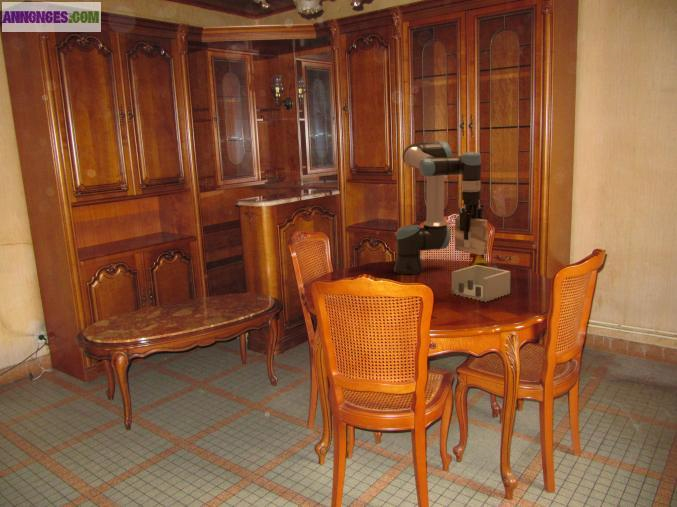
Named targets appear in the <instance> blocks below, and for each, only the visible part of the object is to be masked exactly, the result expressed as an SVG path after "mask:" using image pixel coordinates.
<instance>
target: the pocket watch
mask: <svg viewBox="0 0 677 507" xmlns="http://www.w3.org/2000/svg"><path fill="white" fill-rule="evenodd" d="M491 263H492V264H493V265H492V266H491V267H490V268H496V269H499V268H498V266H497V265H496V261H494V260H492V262H491Z"/></svg>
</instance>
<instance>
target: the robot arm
mask: <svg viewBox="0 0 677 507" xmlns="http://www.w3.org/2000/svg"><path fill="white" fill-rule="evenodd" d="M402 160H403V163H404V164H405V165H407V166H408V167H410V168H416V169H418V170H419V173H420V175H421V176H422V177H426V217H425V218H426V219H425V221H424V222H423V226H422V227H421V226H420V225H419V224H409V225H404V226H401V227H399V228H398V229H397V230H396V238H395V239H396V253H397V254H396V260H395V264H394V266H393V273H395V272H396V273H395V274H397V273H401V274H400V275H403V274H414V275H419V274H418V273H420V274H422V273H424V271H425V267H424V265H423V261H422V258H421V251H434V250H438V251H439V250H443V249H444V250H445V249H446V248H447V247H448V246H449V244H450V242H451V228H450V227H449V226H448V225H447V222H446V221H445V219H444V215H445V214H444V213H445V211H444V210H445V176H455V175H456V176H457V175H460V176H461V190H462V192H461V200H462V201H463V203H462V206H461V207H458V209H457V210H458V213H459V217H460V231H462V232H464V247H468V248H470V243H471V232H469V229H470V220H471V218H474V219H483V210H484V205H483V204H480V202H479V201H480V200H481V196H482V195H481V194H482V192H481V191H480V190H481V185H482V184H481V180H482V178H481V177H482V156H481V153H480V152H472V151H471V152H464V153H462V155H458V156H453V154H452V148H451V147H450V144H449V143H448V142H446V141H439V140H438V141H426V142H425V141H424V142H414V143H411V144H409V145H408V146H406V147H405V149H404V150H403V153H402Z"/></svg>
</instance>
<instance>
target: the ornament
mask: <svg viewBox="0 0 677 507" xmlns="http://www.w3.org/2000/svg"><path fill="white" fill-rule="evenodd" d="M474 265H480V266H485V267H489V264H488V263H487V260H485V254H483V255H479V254H474V253H469V265H468V266H469V267H471V266H474Z"/></svg>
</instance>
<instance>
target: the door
mask: <svg viewBox="0 0 677 507" xmlns="http://www.w3.org/2000/svg"><path fill="white" fill-rule="evenodd" d="M454 220H455V221H454V251H458V252H463V253H469V254H470V253H474V254H479V255H483V254H484V255H487V254H488V219H483V218H482V219H474V218H471V220H470V229H469V232H471V243H470V248H468V247H464V232H462V231H460V216H459V217H458V216H457V217H455V219H454Z"/></svg>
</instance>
